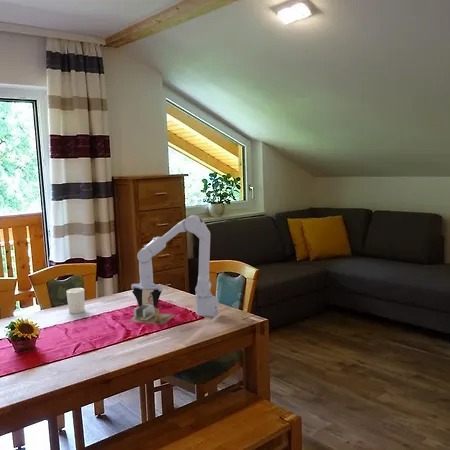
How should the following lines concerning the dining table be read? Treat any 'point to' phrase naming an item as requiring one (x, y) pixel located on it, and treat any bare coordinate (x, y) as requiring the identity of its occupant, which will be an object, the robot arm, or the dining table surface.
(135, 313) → the c link
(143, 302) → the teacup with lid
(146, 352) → the dining table surface
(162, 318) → the board
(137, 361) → the dining table surface
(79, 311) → the white cup
